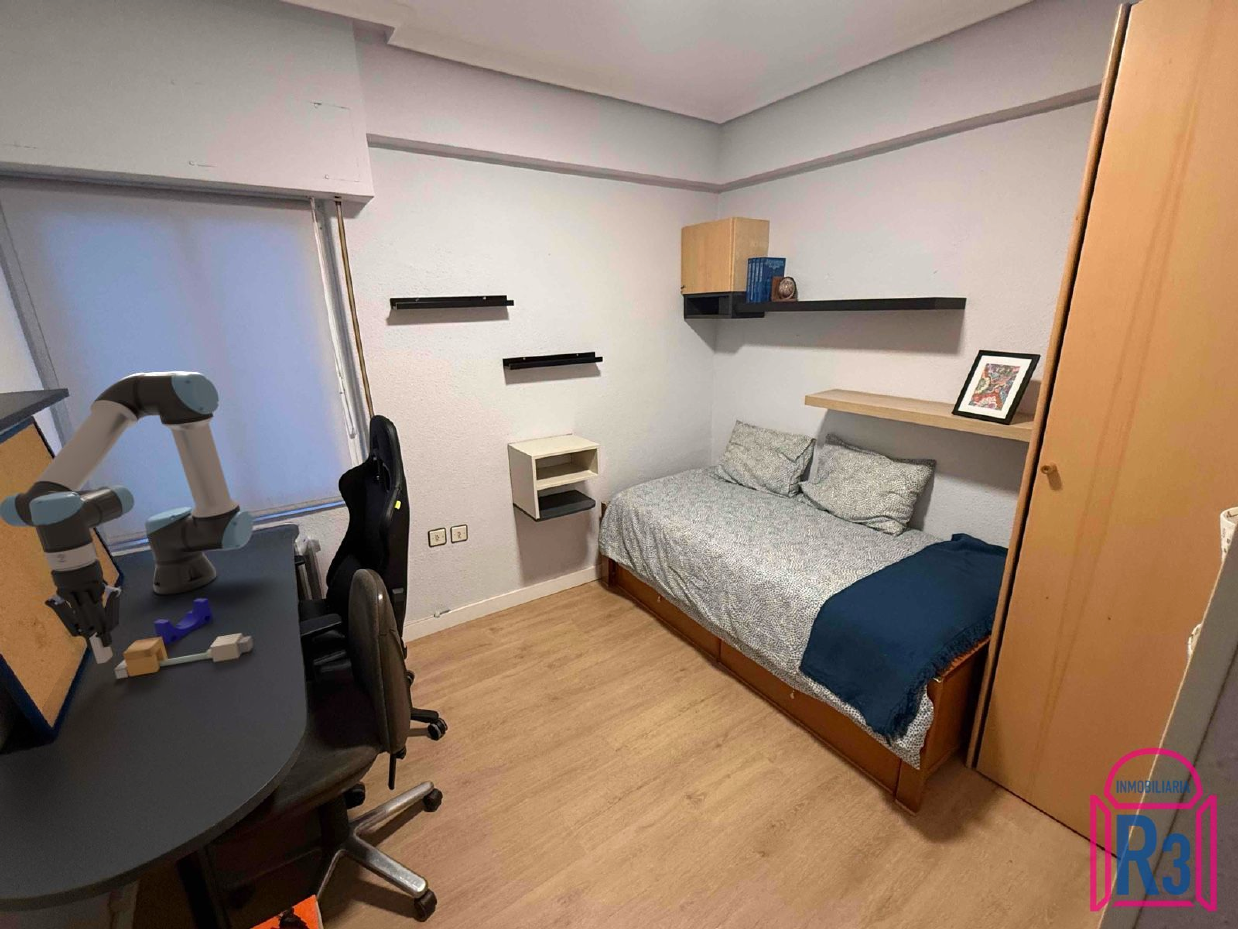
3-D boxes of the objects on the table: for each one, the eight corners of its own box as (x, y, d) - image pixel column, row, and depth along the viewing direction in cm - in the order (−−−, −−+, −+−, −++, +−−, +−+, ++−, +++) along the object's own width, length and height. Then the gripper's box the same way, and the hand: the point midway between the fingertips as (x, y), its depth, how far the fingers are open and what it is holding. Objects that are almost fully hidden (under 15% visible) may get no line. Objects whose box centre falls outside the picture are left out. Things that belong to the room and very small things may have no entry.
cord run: (116, 678, 119) (111, 663, 118) (128, 666, 123) (123, 651, 122) (248, 656, 126) (244, 641, 125) (255, 645, 130) (251, 631, 129)
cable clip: (198, 617, 144) (193, 597, 143) (212, 618, 143) (207, 599, 142) (154, 643, 133) (148, 622, 131) (169, 644, 132) (163, 623, 130)
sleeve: (130, 676, 119) (122, 653, 118) (142, 662, 124) (135, 640, 123) (156, 671, 121) (149, 649, 119) (167, 658, 126) (161, 636, 124)
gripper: (23, 576, 108) (57, 675, 114) (101, 567, 112) (130, 663, 118) (49, 561, 115) (80, 655, 121) (121, 552, 119) (148, 644, 125)
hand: (105, 659), depth 120 cm, fingers closed
